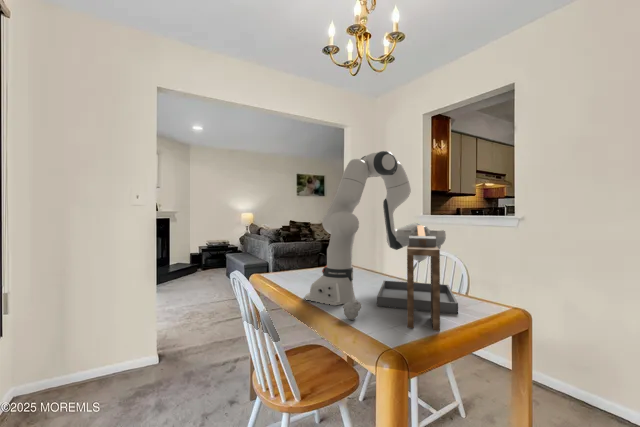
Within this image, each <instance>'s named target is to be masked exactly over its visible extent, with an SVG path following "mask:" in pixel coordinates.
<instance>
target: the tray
mask: <svg viewBox="0 0 640 427" xmlns="http://www.w3.org/2000/svg"><path fill="white" fill-rule="evenodd" d="M376 307H380V308H390V309H400V310H401V309H402V310H407V281H396V280H383V282H382V284H381V286H380V289H379V291H378V293H377V296H376ZM414 311H420V312H421V311H423V312H431V283H429V282H428V283H426V282H414ZM441 313H445V314H452V315H455V314H456V315H458V314H459V302H458V301H457V299H456V297H455V295H454V293H453V291H452V289H451V288H450V286H449V284H441V283H440V314H441Z"/></svg>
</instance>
